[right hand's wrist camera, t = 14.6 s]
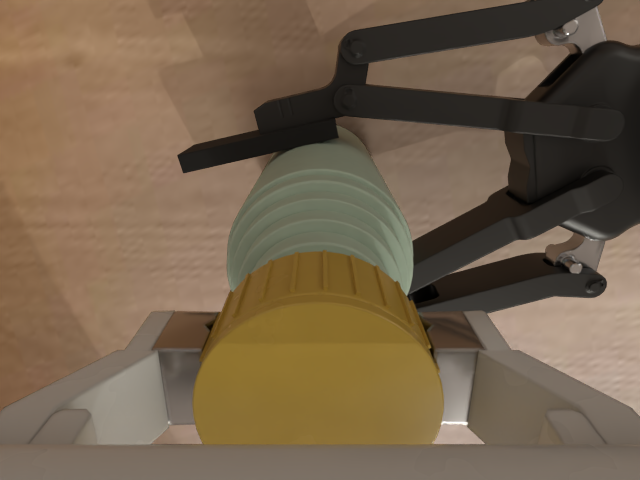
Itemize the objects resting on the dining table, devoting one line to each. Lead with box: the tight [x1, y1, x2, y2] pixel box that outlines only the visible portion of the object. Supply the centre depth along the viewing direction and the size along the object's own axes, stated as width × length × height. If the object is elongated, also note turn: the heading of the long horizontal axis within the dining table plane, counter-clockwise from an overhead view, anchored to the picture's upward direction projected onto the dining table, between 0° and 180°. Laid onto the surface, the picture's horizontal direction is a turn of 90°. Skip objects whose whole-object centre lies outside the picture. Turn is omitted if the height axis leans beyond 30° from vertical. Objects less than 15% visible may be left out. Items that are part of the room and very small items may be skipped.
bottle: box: [227, 125, 413, 296], centre depth 17 cm, size 6×6×19 cm
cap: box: [192, 250, 444, 444], centre depth 9 cm, size 5×5×2 cm
